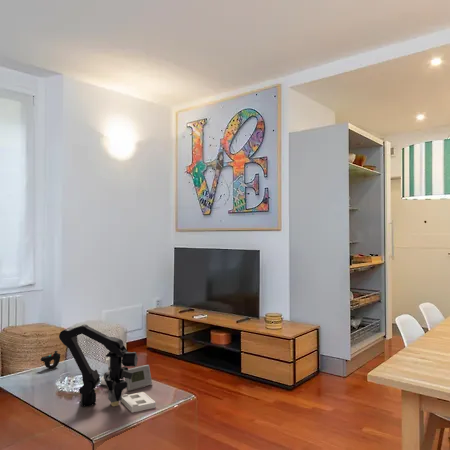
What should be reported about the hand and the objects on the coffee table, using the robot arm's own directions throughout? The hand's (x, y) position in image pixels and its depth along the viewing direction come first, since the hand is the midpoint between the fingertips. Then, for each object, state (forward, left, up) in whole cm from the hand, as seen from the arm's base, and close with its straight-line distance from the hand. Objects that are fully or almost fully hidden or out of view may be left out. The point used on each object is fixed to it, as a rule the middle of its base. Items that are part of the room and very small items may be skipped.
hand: (114, 397), depth 205 cm
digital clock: (+19, +18, -4) cm, 26 cm away
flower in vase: (+8, +31, -4) cm, 32 cm away
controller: (-16, +75, -4) cm, 77 cm away
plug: (0, 0, -4) cm, 4 cm away
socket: (+10, -5, -3) cm, 12 cm away
